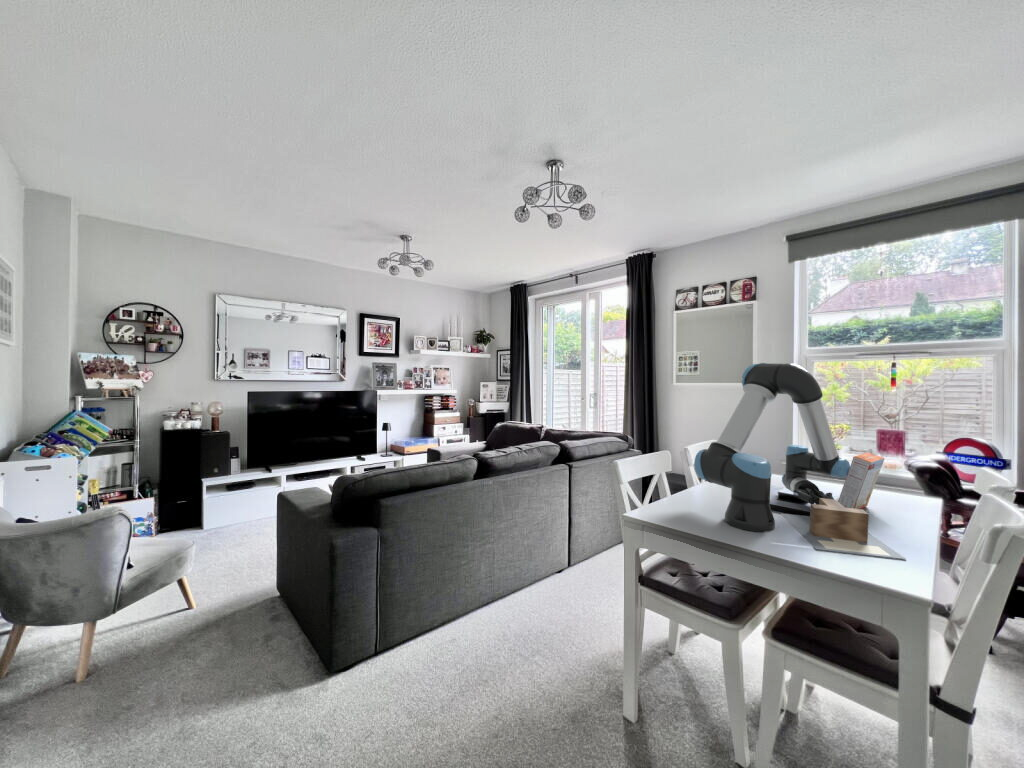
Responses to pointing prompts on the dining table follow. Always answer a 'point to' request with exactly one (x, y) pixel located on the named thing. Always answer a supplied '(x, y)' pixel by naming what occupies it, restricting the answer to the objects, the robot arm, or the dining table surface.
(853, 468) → the cracker box
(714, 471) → the robot arm
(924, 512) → the dining table surface
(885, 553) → the mat
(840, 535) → the t block
